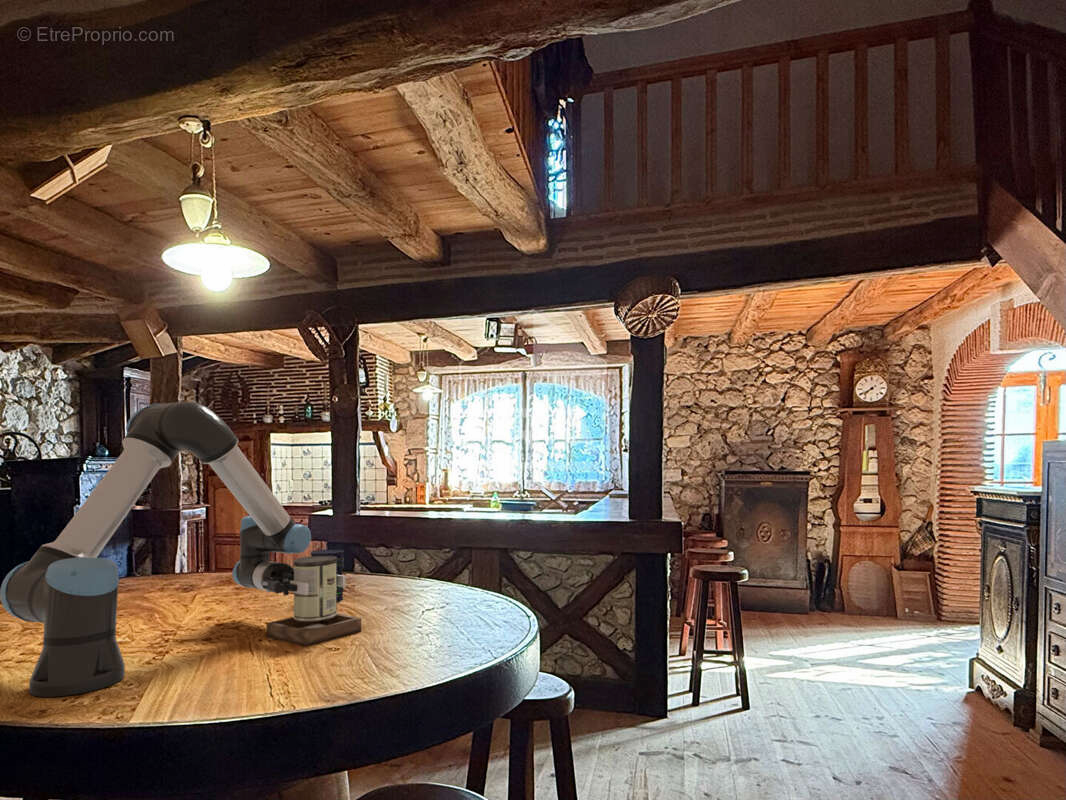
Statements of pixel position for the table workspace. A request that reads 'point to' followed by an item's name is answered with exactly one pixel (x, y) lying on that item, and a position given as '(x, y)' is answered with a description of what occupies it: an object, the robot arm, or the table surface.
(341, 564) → the dark barrel
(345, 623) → the wooden tray
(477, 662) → the table surface
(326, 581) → the coffee can
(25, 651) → the table surface
